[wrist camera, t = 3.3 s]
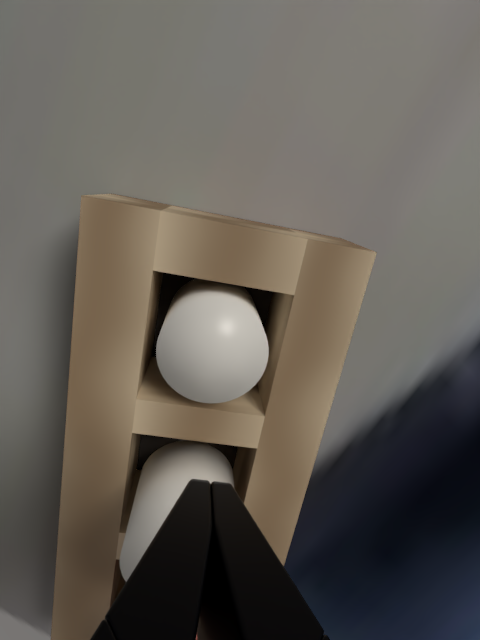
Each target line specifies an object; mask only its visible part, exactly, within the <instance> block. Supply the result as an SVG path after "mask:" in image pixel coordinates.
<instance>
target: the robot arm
mask: <svg viewBox="0 0 480 640" xmlns="http://www.w3.org/2000/svg"><path fill="white" fill-rule="evenodd" d="M323 634H324V630H323V628H322V627H321V625H320V624H319V622H318V620H317V619H316V617H315V616H314V614H313V613H312V611H311V609H310V608H309V606H308V605H307V603H306V601H305V600H304V598H303V597H302V595H301V594H300V592H299V590H298V589H297V587H296V586H295V584H294V582H293V581H292V579H291V578H290V576H289V574H288V573H287V571H286V570H285V568H284V567H283V565H282V563H281V562H280V560H279V559H278V557H277V555H276V554H275V552H274V551H273V549H272V548H271V546H270V544H269V543H268V541H267V540H266V538H265V536H264V535H263V533H262V532H261V530H260V529H259V527H258V525H257V524H256V522H255V521H254V519H253V517H252V516H251V514H250V513H249V511H248V510H247V508H246V506H245V505H244V503H243V502H242V500H241V498H240V497H239V495H238V494H237V492H236V490H235V489H234V487H233V486H232V485H231V484H230V483H226V482H217V481H213V482H212V483H211V484H210V482H209V481H208V480H200V479H191V480H190V481H189V482H188V484H187V485H186V487H185V489H184V490H183V492H182V493H181V495H180V497H179V498H178V500H177V501H176V503H175V505H174V506H173V508H172V509H171V511H170V513H169V514H168V516H167V517H166V519H165V521H164V522H163V524H162V525H161V527H160V529H159V530H158V532H157V533H156V535H155V537H154V538H153V540H152V541H151V543H150V545H149V546H148V548H147V550H146V551H145V553H144V554H143V556H142V558H141V559H140V561H139V562H138V564H137V566H136V567H135V569H134V570H133V572H132V574H131V575H130V577H129V578H128V580H127V582H126V583H125V585H124V586H123V588H122V590H121V591H120V593H119V594H118V596H117V598H116V599H115V601H114V602H113V604H112V606H111V607H110V609H109V610H108V612H107V614H106V615H105V620H102V621H101V623H100V624H99V626H98V628H97V629H96V631H95V632H94V634H93V636H92V637H91V639H90V640H196V635H197V640H330V639H329V638H328V636H327V635H324V636H323Z"/></svg>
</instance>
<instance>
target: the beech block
mask: <svg viewBox="0 0 480 640" xmlns="http://www.w3.org/2000/svg"><path fill="white" fill-rule="evenodd" d="M376 253H377V252H374V251H372V250H369V249H367V248H364V247H362V246H359V245H357V244H354V243H352V242H349V241H346V240H344V239H341V238H336V237H331V236H326V235H321V234H316V233H310V232H305V231H300V230H295V229H290V228H285V227H280V226H275V225H270V224H264V223H259V222H254V221H249V220H244V219H239V218H234V217H229V216H223V215H218V214H213V213H208V212H203V211H198V210H193V209H188V208H182V207H177V206H172V205H167V204H162V203H157V202H152V201H147V200H141V199H136V198H131V197H126V196H121V195H116V194H98V195H81V210H80V224H79V239H78V253H77V268H76V282H75V297H74V311H73V325H72V340H71V354H70V369H69V383H68V398H67V412H66V427H65V441H64V456H63V470H62V484H61V499H60V513H59V528H58V542H57V557H56V571H55V586H54V600H53V614H52V629H51V640H90V639H91V637H92V636H93V634H94V632H95V631H96V629H97V628H98V626H99V624H100V623H101V621H102V620H105V615H106V614H107V612H108V610H109V609H110V607H111V606H112V604H113V602H114V601H115V599H116V598H117V596H118V594H119V593H120V591H121V590H122V588H123V586H124V585H125V583H126V581H125V580H124V578H123V576H122V573H121V570H120V554H121V550H122V546H123V542H124V538H125V534H126V530H127V526H128V522H129V518H130V514H131V510H132V506H133V502H134V498H135V495H136V491H137V487H138V483H139V479H140V475H141V471H142V470H136V468H137V461H138V454H139V446H140V439H141V434H144V435H152V436H160V437H168V438H176V439H184V440H192V441H200V442H208V443H216V444H224V445H232V446H238V449H237V453H236V458H235V462H234V467H233V476H234V489H235V490H236V492H237V494H238V495H239V497H240V498H241V500H242V502H243V503H244V505H245V506H246V508H247V510H248V511H249V513H250V514H251V516H252V517H253V519H254V521H255V522H256V524H257V525H258V527H259V529H260V530H261V532H262V533H263V535H264V536H265V538H266V540H267V541H268V543H269V544H270V546H271V548H272V549H273V551H274V552H275V554H276V555H277V557H278V559H279V560H280V562H281V563H282V565H283V567H284V563H285V560H286V557H287V553H288V550H289V547H290V543H291V540H292V536H293V533H294V530H295V526H296V523H297V520H298V516H299V513H300V510H301V506H302V503H303V499H304V496H305V493H306V489H307V486H308V483H309V479H310V476H311V472H312V469H313V466H314V462H315V459H316V456H317V452H318V449H319V445H320V442H321V439H322V435H323V432H324V429H325V425H326V422H327V418H328V415H329V412H330V408H331V405H332V402H333V398H334V395H335V391H336V388H337V385H338V381H339V378H340V375H341V371H342V368H343V364H344V361H345V358H346V354H347V351H348V348H349V344H350V341H351V338H352V334H353V331H354V327H355V324H356V321H357V317H358V314H359V311H360V307H361V304H362V300H363V297H364V294H365V290H366V287H367V284H368V280H369V277H370V273H371V270H372V267H373V263H374V260H375V257H376ZM163 272H164V273H170V274H176V275H181V276H187V277H193V278H199V279H204V280H210V281H216V282H222V283H227V284H233V285H239V286H244V287H250V288H256V289H262V290H267V291H273V293H272V297H271V302H270V306H269V311H268V315H267V320H266V324H265V329H264V331H265V334H266V337H267V341H268V347H269V356H268V362H267V365H266V369H265V371H264V373H263V375H262V377H261V378H260V380H259V381H258V382H257V383H256V385H255V386H254V387H253V388H252V389H251V390H249V391H248V392H247V393H245V394H244V395H242V396H240V397H238V398H236V399H233V400H231V401H227V402H222V403H202V402H197V401H194V400H190V399H188V398H186V397H184V396H182V395H181V394H179V393H177V392H176V391H175V390H174V389H172V387H171V386H170V385H169V384H168V383H167V382H166V381H165V379H164V378H163V376H162V374H161V372H160V370H159V367H158V364H157V359H156V357H152V351H153V344H154V336H155V329H156V322H157V314H158V307H159V300H160V292H161V285H162V278H163Z"/></svg>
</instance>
